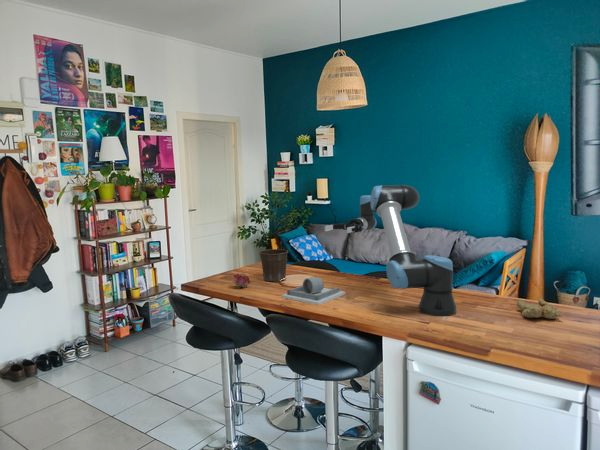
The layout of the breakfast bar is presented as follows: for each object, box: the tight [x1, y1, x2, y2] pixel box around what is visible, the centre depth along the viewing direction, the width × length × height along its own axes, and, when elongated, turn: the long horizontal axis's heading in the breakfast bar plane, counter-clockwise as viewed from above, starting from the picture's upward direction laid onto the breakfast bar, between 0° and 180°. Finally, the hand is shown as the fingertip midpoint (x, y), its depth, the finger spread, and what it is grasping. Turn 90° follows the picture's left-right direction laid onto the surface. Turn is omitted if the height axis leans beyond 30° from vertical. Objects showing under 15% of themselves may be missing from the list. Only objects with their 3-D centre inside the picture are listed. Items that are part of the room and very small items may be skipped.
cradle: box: [281, 284, 346, 306], centre depth 217 cm, size 22×22×3 cm
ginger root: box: [516, 297, 564, 320], centre depth 180 cm, size 16×16×8 cm
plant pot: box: [258, 248, 289, 283], centre depth 250 cm, size 16×16×16 cm
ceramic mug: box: [302, 277, 325, 294], centre depth 219 cm, size 11×8×8 cm
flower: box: [232, 273, 251, 290], centre depth 235 cm, size 10×9×8 cm
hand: (336, 229), depth 230 cm, fingers open, 13 cm apart
